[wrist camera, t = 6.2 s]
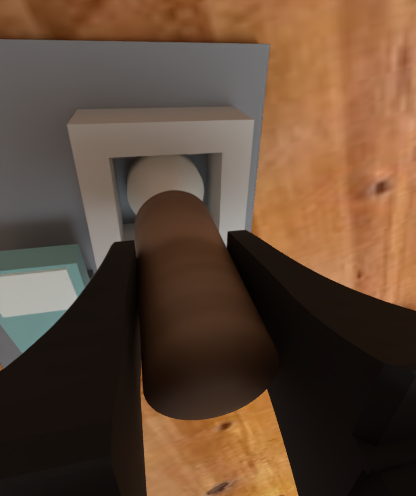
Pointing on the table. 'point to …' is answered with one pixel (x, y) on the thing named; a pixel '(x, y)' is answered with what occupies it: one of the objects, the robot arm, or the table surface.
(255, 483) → the table surface
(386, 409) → the robot arm
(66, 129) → the panel
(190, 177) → the cream smooth round part
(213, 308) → the dowel
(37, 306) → the block
